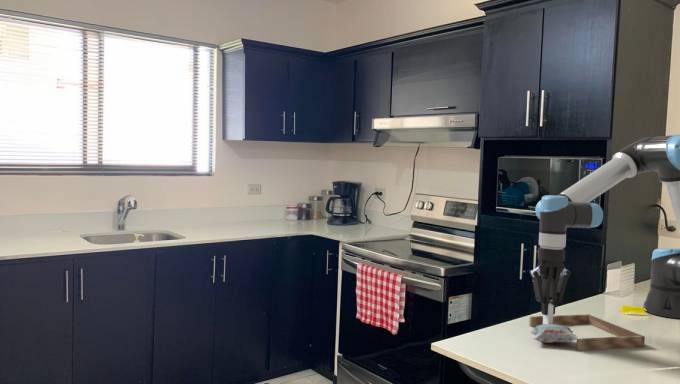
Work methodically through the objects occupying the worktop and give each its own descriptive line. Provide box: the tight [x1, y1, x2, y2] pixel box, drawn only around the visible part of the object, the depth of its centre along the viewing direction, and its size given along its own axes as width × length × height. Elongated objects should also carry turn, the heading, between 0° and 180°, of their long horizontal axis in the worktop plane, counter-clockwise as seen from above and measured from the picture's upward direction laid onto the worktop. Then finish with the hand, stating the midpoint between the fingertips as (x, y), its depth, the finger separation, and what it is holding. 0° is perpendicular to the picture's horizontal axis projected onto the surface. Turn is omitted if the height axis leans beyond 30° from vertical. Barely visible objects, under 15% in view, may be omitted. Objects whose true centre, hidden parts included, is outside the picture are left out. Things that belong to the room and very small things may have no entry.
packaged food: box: [530, 324, 579, 344], centre depth 159 cm, size 9×12×5 cm
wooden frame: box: [528, 313, 646, 351], centre depth 168 cm, size 22×24×3 cm
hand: (547, 325), depth 165 cm, fingers closed
